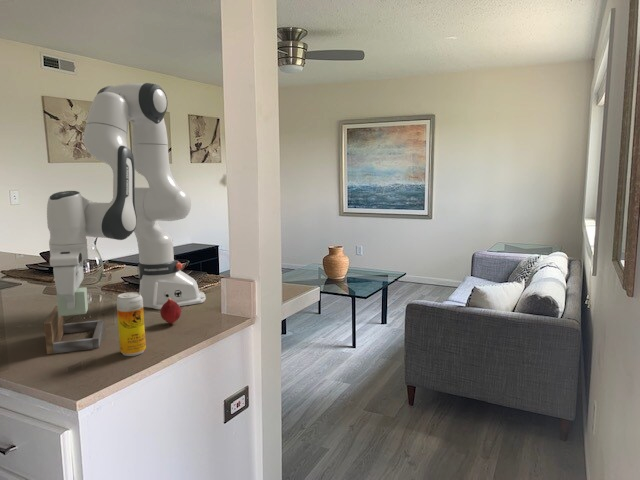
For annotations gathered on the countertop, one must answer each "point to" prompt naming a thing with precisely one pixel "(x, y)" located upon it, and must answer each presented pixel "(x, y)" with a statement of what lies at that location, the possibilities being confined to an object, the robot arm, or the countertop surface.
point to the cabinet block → (80, 303)
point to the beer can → (131, 323)
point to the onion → (170, 311)
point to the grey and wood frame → (57, 329)
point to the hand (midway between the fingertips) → (73, 304)
